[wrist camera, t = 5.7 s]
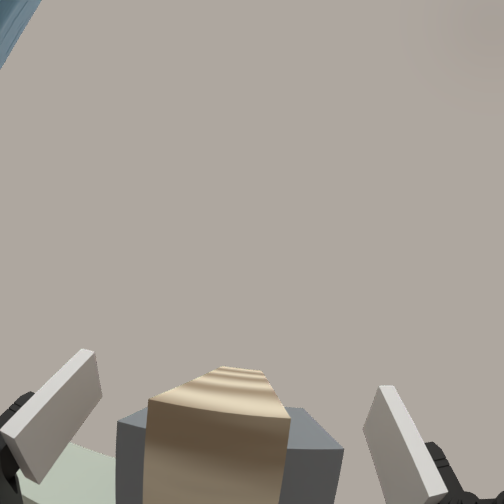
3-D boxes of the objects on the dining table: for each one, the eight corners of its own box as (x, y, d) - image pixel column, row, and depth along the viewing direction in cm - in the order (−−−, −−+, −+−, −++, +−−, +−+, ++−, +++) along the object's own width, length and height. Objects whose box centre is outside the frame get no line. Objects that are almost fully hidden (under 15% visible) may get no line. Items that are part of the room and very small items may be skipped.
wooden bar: (273, 531, 7) (291, 418, 8) (142, 511, 7) (148, 399, 8) (257, 407, 29) (261, 370, 31) (218, 403, 30) (222, 366, 31)
